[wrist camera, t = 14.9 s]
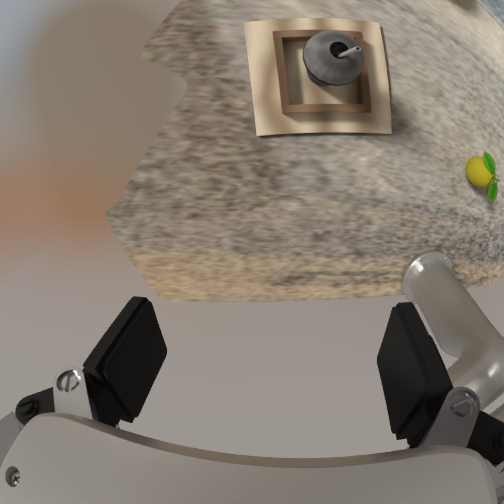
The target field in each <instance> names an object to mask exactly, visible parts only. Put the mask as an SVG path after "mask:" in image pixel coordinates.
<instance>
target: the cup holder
mask: <svg viewBox="0 0 504 504" xmlns="http://www.w3.org/2000/svg"><path fill="white" fill-rule="evenodd" d="M244 28H245V36H246V45H247V53H248V61H249V70H250V78H251V87H252V96H253V105H254V114H255V123H256V132H257V136H261V135H274V134H290V133H317V132H358V133H384V134H392V128H391V109H390V96H389V85H388V76H387V67H386V60H385V53H384V47H383V41H382V35H381V30H380V25H379V23H377V22H369V21H359V20H347V19H328V18H296V19H276V20H264V21H255V22H246V23H244ZM327 30H335V31H341V32H343V33H346V34H348V35H350V36H351V37H352V38H353V39H355V40H356V41H357V43H358V44H359V45H360V47H361V49H362V51H363V54H364V66H363V69H362V71H361V74H360V75H359V77H358V78H357V79H356V80H355V81H353V82H351V83H349V84H347V85H341V86H334V85H329V86H319V85H316V84H314V83H313V82H312V81H311V80H310V79H309V77H308V74H307V69H306V67H305V64H304V61H303V48H304V46H305V43H306V42H307V41H308V40H309V39H310V38H311V37H312V36H313V35H315V34H317V33H320V32H322V31H327Z"/></svg>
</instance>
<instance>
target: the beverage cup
mask: <svg viewBox="0 0 504 504" xmlns="http://www.w3.org/2000/svg"><path fill="white" fill-rule="evenodd" d="M303 61H304V64H305V67H306V69H307V74H308V77H309V79H310V80H311V81H312V82H313V83H314V84H316V85H319V86H329V85H334V86H341V85H347V84H349V83H351V82H353V81H355V80H356V79H357V78H358V77H359V75H360V74H361V71H362V69H363V66H364V54H363V51H362V49H361V47H360V45H359V44H358V43H357V41H356V40H355V39H353V38H352V37H351V36H350V35H348V34H346V33H343V32H341V31H335V30H327V31H322V32H320V33H317V34H315V35H313V36H312V37H311V38H310V39H309V40H308V41H307V42H306V43H305V46H304V48H303Z"/></svg>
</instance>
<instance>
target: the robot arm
mask: <svg viewBox="0 0 504 504" xmlns="http://www.w3.org/2000/svg"><path fill="white" fill-rule="evenodd" d="M463 279H465V274H464V273H459V274H457V273H456V272H455V271H454V270H453V264H452V261H451V259H450V258H449V257H448V256H447V255H446V254H445V253H444V252H442V251H438V250H430V251H426V252H424V253H422V254H420V255H418V256H417V257H416V258H415V259H413V260H412V261H411V263H410V264H409V265H408V266H407V268H406V270H405V272H404V274H403V278H402V290H403V293H404V295H405V296H406V298H407V299H408V300H409V301H410V302H404V303H398V304H397V305H396V307H393V308H392V311H391V314H390V318H389V321H388V325H387V328H386V331H385V334H384V338H383V341H382V344H381V347H380V350H379V353H378V356H377V365H378V369H379V373H380V377H381V382H382V386H383V391H384V395H385V400H386V405H387V410H388V415H389V420H390V426H391V431H392V433H393V434H395V433H396V438H397V440H400V439H406V438H407V442H408V444H409V445H408V447H407V449H404V450H398V451H391V452H384V453H377V454H368V455H358V456H348V457H332V458H272V457H257V456H246V455H237V454H228V453H221V452H214V451H208V450H202V449H197V448H191V447H186V446H181V445H177V444H172V443H168V442H164V441H160V440H156V439H152V438H148V437H145V436H141V435H138V434H135V433H131V432H128V431H125V430H121V429H120V427H119V424H118V423H119V421H120V419H121V420H123V421H126V422H130V423H132V422H133V420H134V418H135V417H138V415H139V414H140V412H141V409H142V407H143V405H144V403H145V400H146V398H147V396H148V394H149V392H150V390H151V387H152V385H153V383H154V381H155V379H156V377H157V375H158V372H159V370H160V368H161V366H162V364H163V362H164V360H165V358H166V355H167V347H166V344H165V342H164V339H163V336H162V333H161V330H160V327H159V324H158V321H157V318H156V315H155V312H154V308H153V305H152V303H151V302H150V301H149V300H148V299H147V298H146V297H136V296H134V297H132V298H131V300H130V301H129V302H128V303H127V304H126V306H125V307H124V308H123V310H122V311H121V312H120V314H119V315H118V316H117V318H116V319H115V321H114V322H113V323H112V324H111V326H110V327H109V329H108V330H107V331H106V333H105V334H104V335H103V337H102V338H101V340H100V341H99V342H98V344H97V345H96V347H95V348H94V349H93V351H92V352H91V354H90V355H89V356H88V358H87V359H86V361H85V362H84V364H83V366H84V369H83V370H82V371H81V370H80V369H79V368H77V367H68V368H66V369H63V370H62V371H60V372H59V373H58V374H57V375H56V377H55V379H54V382H53V387H52V388H49V389H46V390H43V391H41V392H38V393H35V394H32V395H29V396H27V397H25V398H23V399H22V400H21V401H20V402H19V403H18V405H17V407H16V411H15V413H14V412H11V413H10V414H8V415H7V416H5V417H4V418H3V419H1V420H0V504H504V404H502V405H501V406H500V407H498V408H497V409H496V410H495V411H493V412H492V413H491V414H487V413H485V412H483V411H482V410H484V409H485V408H486V407H487V406H489V405H490V404H491V403H492V402H494V401H495V400H496V399H497V398H498V397H500V396H501V395H502V394H503V393H504V337H503V336H502V335H501V334H500V333H499V332H498V331H497V330H496V329H495V327H494V326H493V325H492V324H491V323H490V321H489V320H488V319H487V317H486V316H485V315H484V313H483V312H482V310H481V309H480V308H479V306H478V305H477V304H476V302H475V301H474V299H473V298H472V297H471V296H470V294H469V293H468V292H467V290H466V288H467V284H466V282H465V281H463V282H460V281H459V280H463ZM413 303H415V304H418V305H419V307H420V309H421V311H422V313H423V314H424V316H425V318H426V320H427V322H428V324H429V326H430V328H431V330H432V332H433V334H434V336H435V338H436V340H437V342H438V344H439V346H440V348H441V349H442V350H443V351H444V352H445V353H447V354H449V355H451V356H454V357H458V358H459V359H458V360H457V361H456V362H455V363H454V364H453V365H452V366H451V367H450V368H448V369H447V370H446V368H445V365H444V363H443V361H442V358H441V356H440V354H439V351H438V349H437V347H436V345H435V343H434V341H433V338H432V337H431V336H430V335H429V334H428V332H427V330H426V328H425V326H424V324H423V322H422V320H421V318H420V316H419V314H418V312H417V310H416V308H415V306H414V304H413Z"/></svg>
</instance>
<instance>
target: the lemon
mask: <svg viewBox="0 0 504 504" xmlns="http://www.w3.org/2000/svg"><path fill="white" fill-rule="evenodd" d="M466 175H467V178H468V179H469V181H470V182H471V183H472V184H474V185H475V186H477V187H481V188H486V187H489V189H488V198H489V200H490V202H491V201H494V200H495V198H496V196H497V182H496V183H494V181H495V180H497V181H500V180H499V179H496V178H495V177H496V174H495V163H494V160H493V158H492V157H491V156H490V154H488V153H487V152H485V151H484V157H483V158H482V157H472V158H471V159H469V161H468V162H467V165H466ZM493 183H494V184H493Z"/></svg>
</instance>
